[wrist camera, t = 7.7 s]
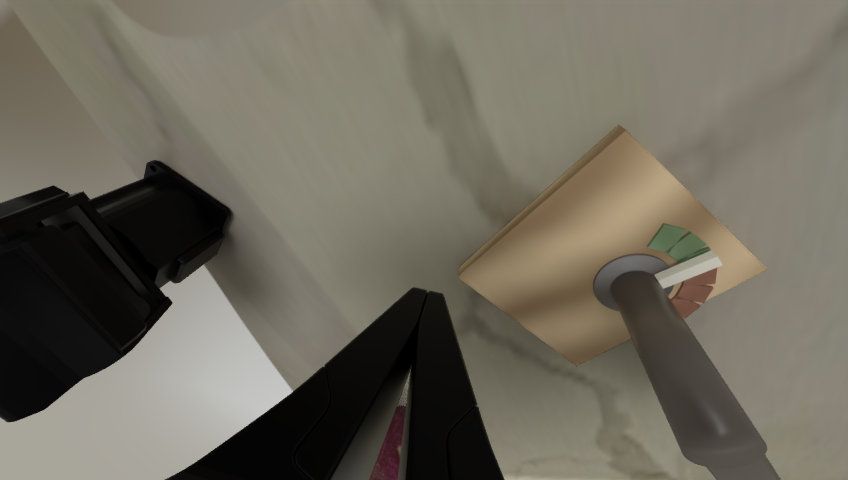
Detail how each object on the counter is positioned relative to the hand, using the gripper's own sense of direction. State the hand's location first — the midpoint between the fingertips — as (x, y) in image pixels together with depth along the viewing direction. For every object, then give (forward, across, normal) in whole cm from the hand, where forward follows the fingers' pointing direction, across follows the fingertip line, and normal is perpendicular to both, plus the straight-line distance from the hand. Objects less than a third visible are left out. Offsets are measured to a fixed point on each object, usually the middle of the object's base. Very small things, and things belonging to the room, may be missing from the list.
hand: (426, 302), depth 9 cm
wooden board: (+13, -10, +6) cm, 17 cm away
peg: (+11, -15, +6) cm, 20 cm away
